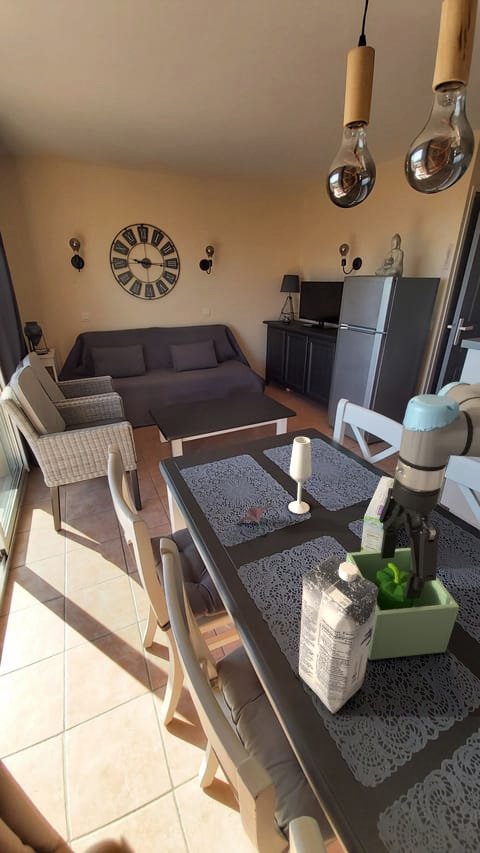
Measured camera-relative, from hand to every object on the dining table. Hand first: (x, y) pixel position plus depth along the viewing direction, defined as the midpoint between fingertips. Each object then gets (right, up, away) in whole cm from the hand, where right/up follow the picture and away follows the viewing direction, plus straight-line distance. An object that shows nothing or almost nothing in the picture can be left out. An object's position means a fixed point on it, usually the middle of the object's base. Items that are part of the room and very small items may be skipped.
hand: (398, 575), depth 73 cm
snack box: (+6, -2, +28) cm, 29 cm away
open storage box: (0, -12, +5) cm, 13 cm away
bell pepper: (0, -8, +4) cm, 9 cm away
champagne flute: (-13, +4, +43) cm, 45 cm away
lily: (-27, 0, +35) cm, 44 cm away
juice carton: (-16, -18, -6) cm, 24 cm away
